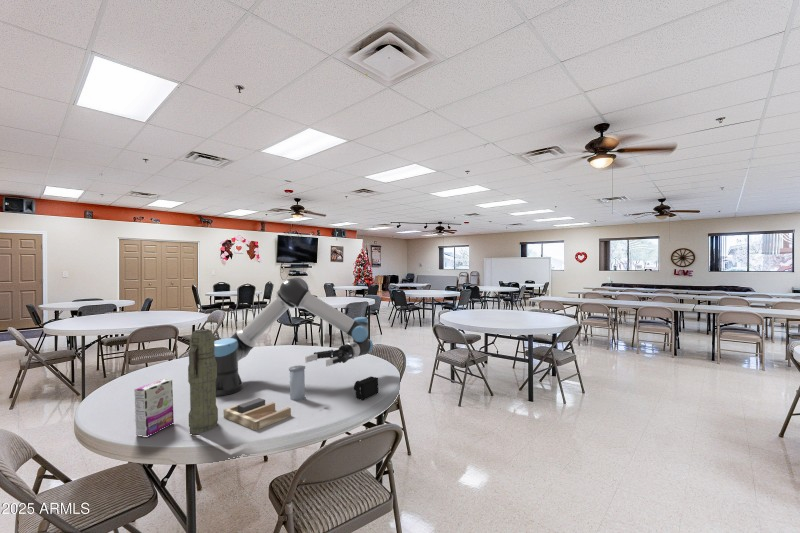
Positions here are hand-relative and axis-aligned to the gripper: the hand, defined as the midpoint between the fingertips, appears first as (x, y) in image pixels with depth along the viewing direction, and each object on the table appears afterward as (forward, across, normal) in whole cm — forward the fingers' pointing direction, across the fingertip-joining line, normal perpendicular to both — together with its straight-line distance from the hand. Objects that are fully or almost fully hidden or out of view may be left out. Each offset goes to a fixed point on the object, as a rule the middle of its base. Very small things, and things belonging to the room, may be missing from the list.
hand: (315, 361), depth 160 cm
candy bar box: (+56, +21, -14) cm, 61 cm away
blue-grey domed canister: (+10, +1, -14) cm, 18 cm away
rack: (+31, -2, -14) cm, 34 cm away
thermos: (+47, +6, -14) cm, 49 cm away
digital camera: (-10, -21, -15) cm, 27 cm away
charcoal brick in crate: (+30, +2, -13) cm, 33 cm away
